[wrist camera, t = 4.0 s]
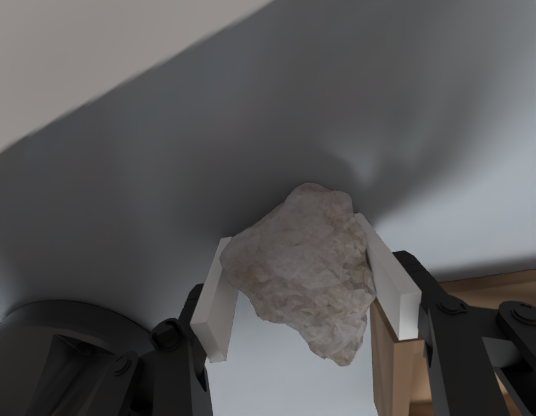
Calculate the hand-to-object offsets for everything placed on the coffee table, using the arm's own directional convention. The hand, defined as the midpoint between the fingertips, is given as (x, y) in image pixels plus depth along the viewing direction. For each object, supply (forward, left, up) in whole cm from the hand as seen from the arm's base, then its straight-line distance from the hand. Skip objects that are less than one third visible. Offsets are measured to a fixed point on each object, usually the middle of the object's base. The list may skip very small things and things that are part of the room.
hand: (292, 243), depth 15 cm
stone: (0, -1, -1) cm, 1 cm away
